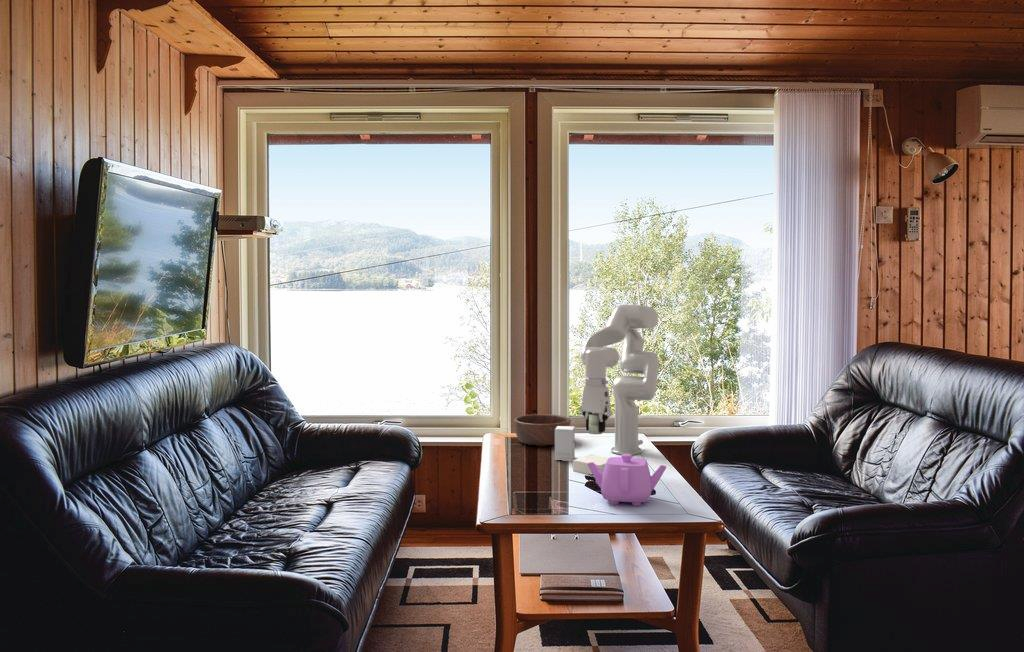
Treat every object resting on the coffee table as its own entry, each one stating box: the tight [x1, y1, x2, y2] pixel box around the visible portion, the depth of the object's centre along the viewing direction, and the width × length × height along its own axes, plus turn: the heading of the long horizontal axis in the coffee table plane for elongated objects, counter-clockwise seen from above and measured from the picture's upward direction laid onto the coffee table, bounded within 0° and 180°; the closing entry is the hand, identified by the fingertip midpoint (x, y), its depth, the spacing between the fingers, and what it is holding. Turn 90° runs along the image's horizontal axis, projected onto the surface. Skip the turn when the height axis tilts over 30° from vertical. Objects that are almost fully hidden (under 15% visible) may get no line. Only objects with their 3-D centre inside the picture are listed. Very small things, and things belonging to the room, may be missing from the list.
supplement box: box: [554, 425, 576, 462], centre depth 297 cm, size 7×7×13 cm
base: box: [572, 454, 610, 475], centre depth 279 cm, size 12×12×4 cm
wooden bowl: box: [513, 413, 572, 447], centre depth 329 cm, size 25×25×10 cm
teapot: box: [587, 454, 667, 507], centre depth 240 cm, size 19×18×15 cm
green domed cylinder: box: [588, 413, 603, 435], centre depth 278 cm, size 5×5×7 cm
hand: (595, 430), depth 278 cm, fingers closed on green domed cylinder, 5 cm apart
